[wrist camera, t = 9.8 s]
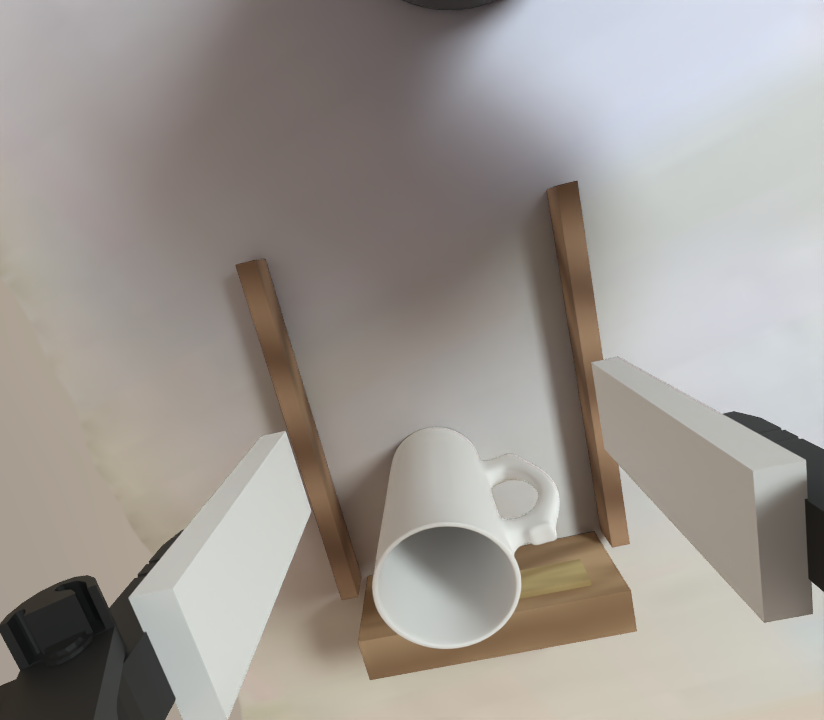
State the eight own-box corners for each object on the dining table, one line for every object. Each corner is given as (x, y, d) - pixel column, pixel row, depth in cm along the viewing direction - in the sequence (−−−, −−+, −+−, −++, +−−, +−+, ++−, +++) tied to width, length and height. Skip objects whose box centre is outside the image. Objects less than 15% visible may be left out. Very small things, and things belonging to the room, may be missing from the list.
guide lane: (247, 263, 30) (235, 264, 28) (566, 185, 28) (577, 180, 26) (345, 580, 35) (341, 600, 33) (617, 526, 34) (629, 543, 32)
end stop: (366, 571, 35) (356, 636, 29) (593, 526, 34) (630, 585, 28) (377, 609, 36) (370, 680, 30) (599, 566, 35) (636, 631, 29)
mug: (409, 523, 34) (405, 667, 22) (372, 443, 32) (347, 553, 21) (541, 475, 33) (609, 600, 21) (509, 391, 32) (563, 475, 20)
